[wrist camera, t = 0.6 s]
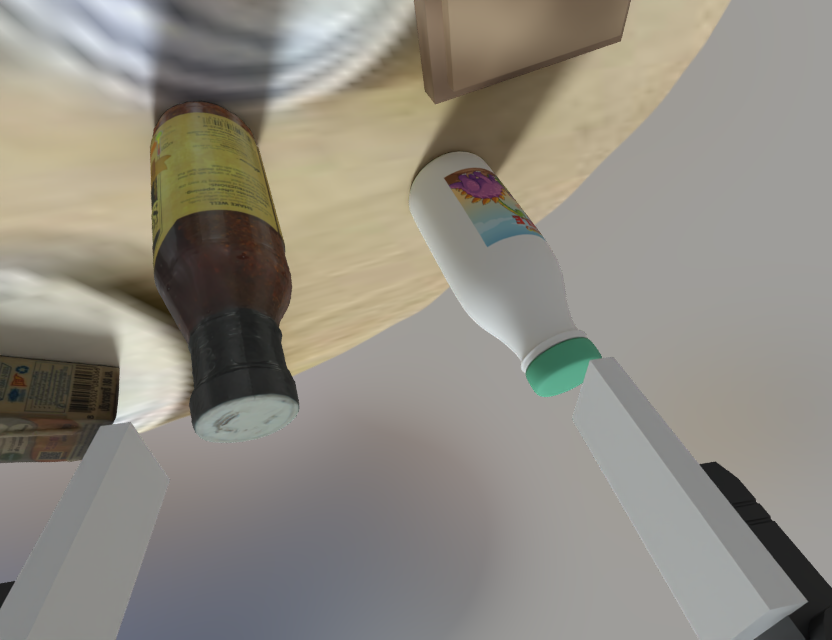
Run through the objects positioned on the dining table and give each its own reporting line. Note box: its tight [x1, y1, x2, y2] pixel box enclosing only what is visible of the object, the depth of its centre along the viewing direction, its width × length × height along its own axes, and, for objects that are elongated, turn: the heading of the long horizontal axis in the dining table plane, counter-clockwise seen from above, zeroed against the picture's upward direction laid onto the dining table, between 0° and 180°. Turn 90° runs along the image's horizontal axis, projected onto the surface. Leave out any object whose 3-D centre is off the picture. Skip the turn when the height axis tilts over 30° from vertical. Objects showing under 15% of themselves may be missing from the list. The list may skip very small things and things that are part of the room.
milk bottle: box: [409, 151, 602, 397], centre depth 31 cm, size 8×8×20 cm
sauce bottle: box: [150, 101, 299, 443], centre depth 22 cm, size 6×6×20 cm
